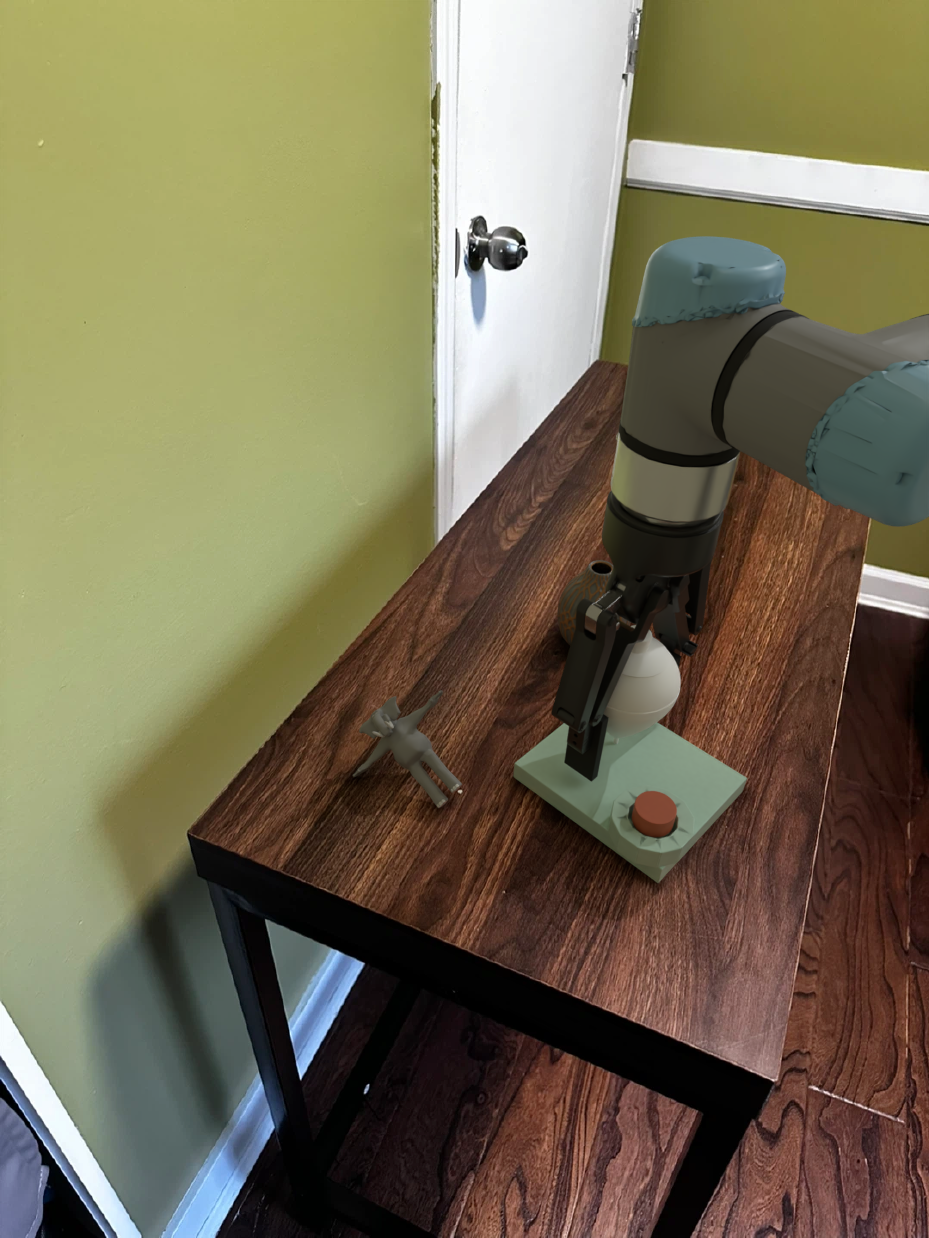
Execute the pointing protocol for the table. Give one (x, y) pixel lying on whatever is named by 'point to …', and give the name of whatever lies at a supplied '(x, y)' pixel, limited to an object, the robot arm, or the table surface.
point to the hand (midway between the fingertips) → (617, 737)
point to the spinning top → (643, 689)
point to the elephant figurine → (408, 746)
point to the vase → (582, 595)
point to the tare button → (654, 814)
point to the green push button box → (635, 791)
